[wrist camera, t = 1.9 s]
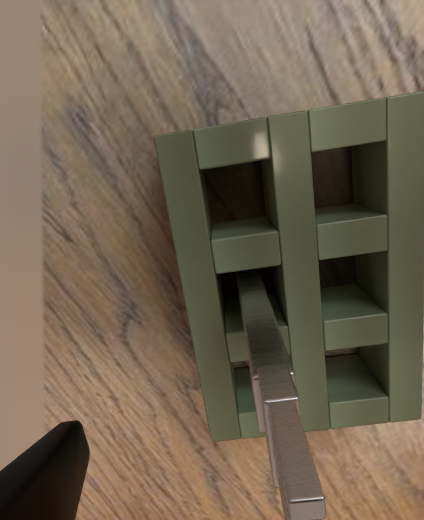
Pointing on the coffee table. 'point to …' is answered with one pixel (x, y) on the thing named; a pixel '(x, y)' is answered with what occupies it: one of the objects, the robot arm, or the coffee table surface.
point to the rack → (308, 261)
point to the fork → (278, 403)
